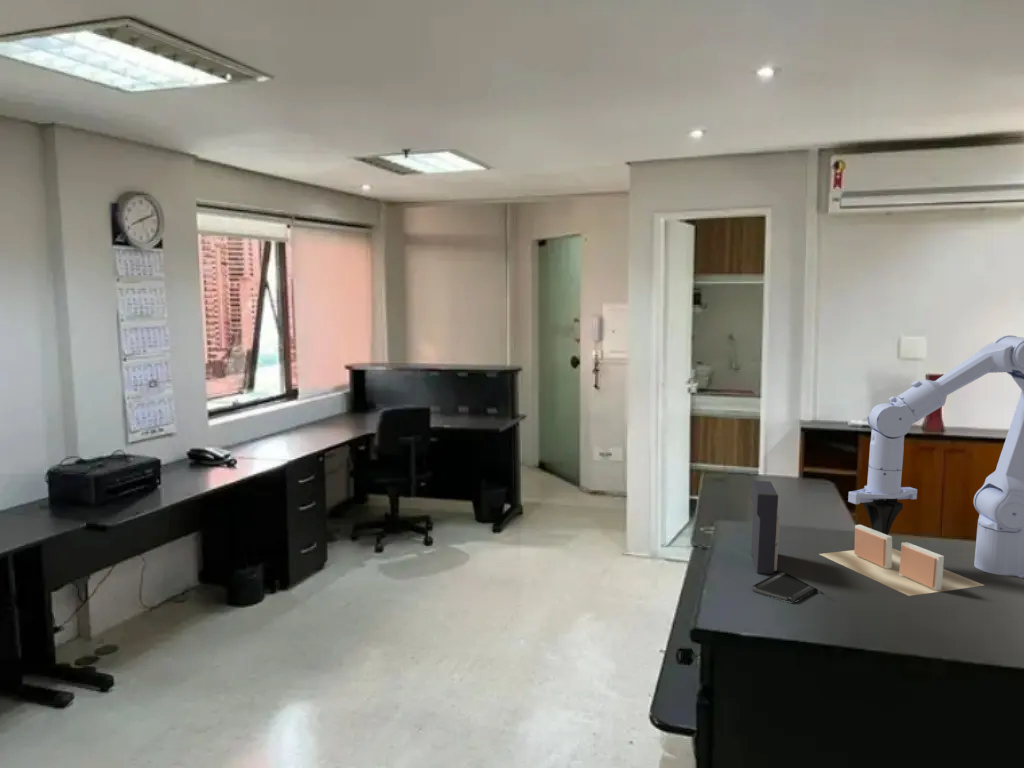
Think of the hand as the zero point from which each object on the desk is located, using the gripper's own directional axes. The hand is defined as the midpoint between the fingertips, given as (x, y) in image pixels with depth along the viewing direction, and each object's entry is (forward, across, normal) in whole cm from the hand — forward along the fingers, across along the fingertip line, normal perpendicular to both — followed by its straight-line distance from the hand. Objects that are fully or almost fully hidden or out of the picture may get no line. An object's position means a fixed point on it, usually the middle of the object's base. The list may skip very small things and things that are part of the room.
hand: (879, 537), depth 147 cm
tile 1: (+4, +1, 0) cm, 5 cm away
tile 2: (+4, +1, +11) cm, 12 cm away
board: (+5, 0, +4) cm, 7 cm away
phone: (+6, +23, +5) cm, 25 cm away
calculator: (+6, +21, -6) cm, 23 cm away
